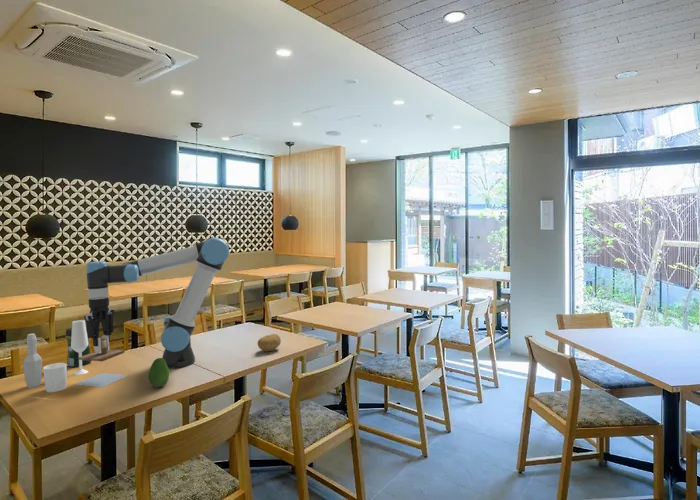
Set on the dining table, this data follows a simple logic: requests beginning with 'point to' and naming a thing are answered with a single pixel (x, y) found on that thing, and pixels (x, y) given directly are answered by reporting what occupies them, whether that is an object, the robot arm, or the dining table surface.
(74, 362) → the wine bottles
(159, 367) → the avocado
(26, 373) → the faceted bottle
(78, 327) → the champagne flute
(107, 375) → the mat
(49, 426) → the dining table surface
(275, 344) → the potato
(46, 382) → the white cup
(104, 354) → the lid
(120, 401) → the dining table surface
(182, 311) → the robot arm
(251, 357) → the dining table surface
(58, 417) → the dining table surface
